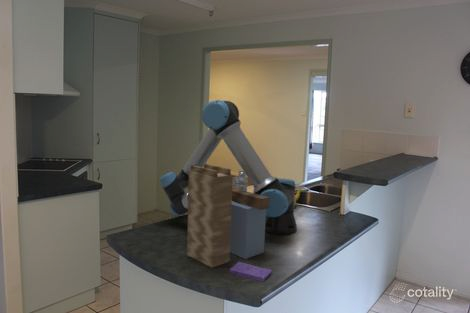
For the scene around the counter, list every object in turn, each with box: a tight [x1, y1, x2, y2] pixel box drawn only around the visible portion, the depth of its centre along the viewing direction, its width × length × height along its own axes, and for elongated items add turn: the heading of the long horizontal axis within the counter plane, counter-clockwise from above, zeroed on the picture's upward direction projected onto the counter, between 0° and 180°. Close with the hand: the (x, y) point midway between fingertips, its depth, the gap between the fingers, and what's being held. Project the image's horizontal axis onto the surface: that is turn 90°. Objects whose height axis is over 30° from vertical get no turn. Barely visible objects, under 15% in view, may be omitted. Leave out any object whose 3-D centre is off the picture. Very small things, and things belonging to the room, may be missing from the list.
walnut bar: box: [232, 187, 269, 210], centre depth 144 cm, size 24×4×4 cm, turn 45°
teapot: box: [294, 186, 304, 206], centre depth 209 cm, size 14×14×12 cm
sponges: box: [229, 261, 272, 282], centre depth 126 cm, size 7×13×2 cm, turn 61°
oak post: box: [186, 163, 234, 269], centre depth 134 cm, size 14×8×33 cm, turn 44°
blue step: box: [230, 202, 266, 260], centre depth 143 cm, size 10×10×18 cm
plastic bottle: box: [235, 170, 249, 192], centre depth 202 cm, size 6×7×20 cm
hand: (224, 181), depth 149 cm, fingers open, 13 cm apart
